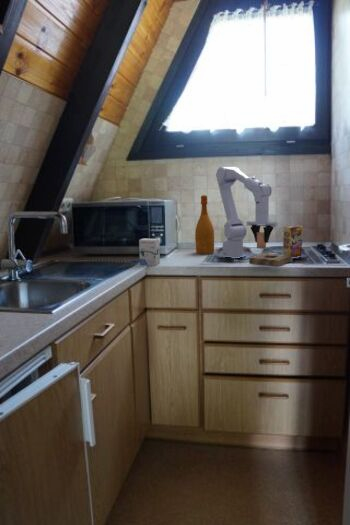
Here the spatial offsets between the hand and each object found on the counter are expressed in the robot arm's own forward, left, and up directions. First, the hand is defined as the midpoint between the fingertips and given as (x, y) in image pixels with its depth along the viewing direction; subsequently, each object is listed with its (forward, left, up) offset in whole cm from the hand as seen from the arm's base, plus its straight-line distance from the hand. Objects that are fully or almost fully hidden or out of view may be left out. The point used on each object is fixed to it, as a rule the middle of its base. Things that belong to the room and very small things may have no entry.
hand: (261, 242), depth 192 cm
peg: (0, 0, -2) cm, 3 cm away
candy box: (+8, +16, -10) cm, 21 cm away
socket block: (+3, +3, -9) cm, 10 cm away
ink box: (-43, -28, -10) cm, 52 cm away
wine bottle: (-37, +9, -10) cm, 40 cm away
